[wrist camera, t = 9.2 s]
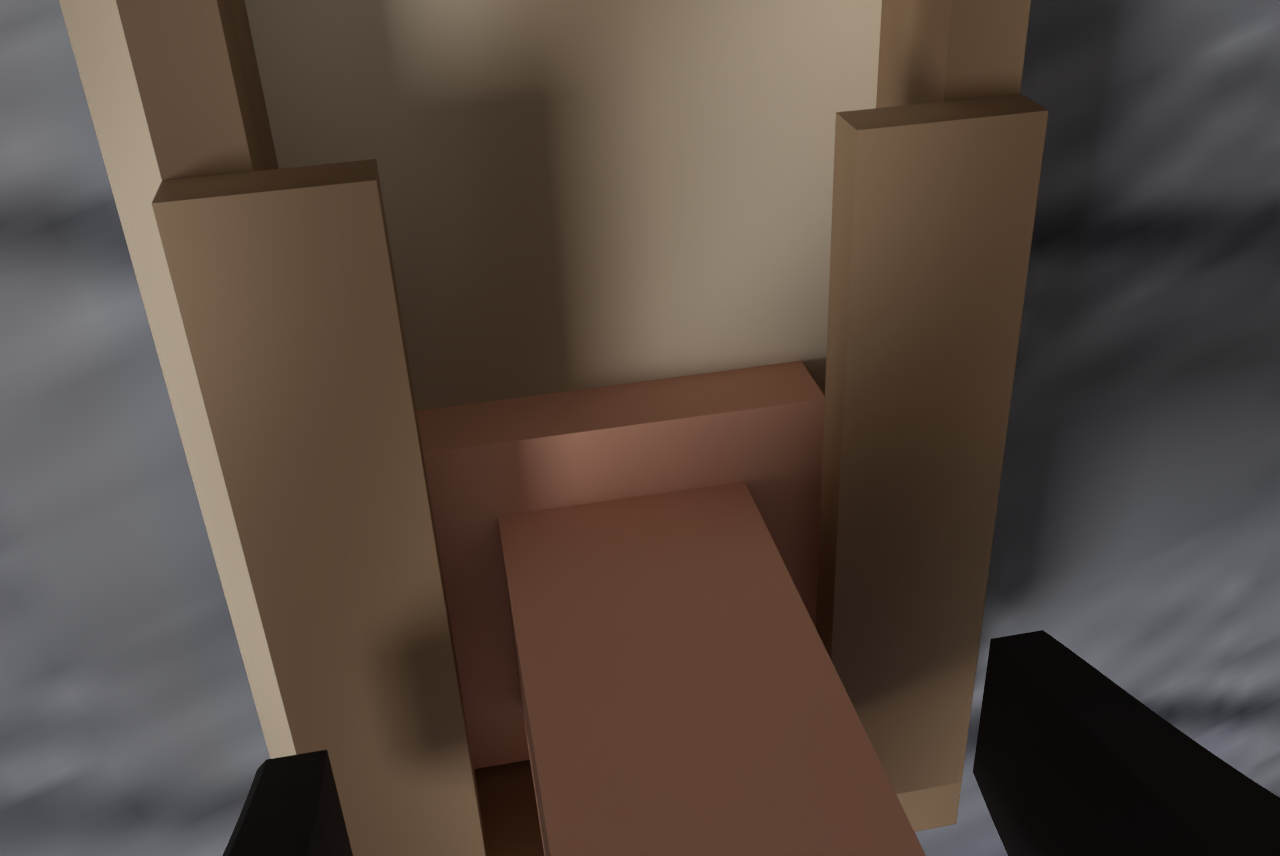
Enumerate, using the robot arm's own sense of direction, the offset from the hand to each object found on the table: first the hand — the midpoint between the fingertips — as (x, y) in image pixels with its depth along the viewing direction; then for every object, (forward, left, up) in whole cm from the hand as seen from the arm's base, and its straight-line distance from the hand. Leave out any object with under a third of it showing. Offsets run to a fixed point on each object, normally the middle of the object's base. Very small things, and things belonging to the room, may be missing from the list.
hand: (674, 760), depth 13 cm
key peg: (0, 0, -4) cm, 4 cm away
